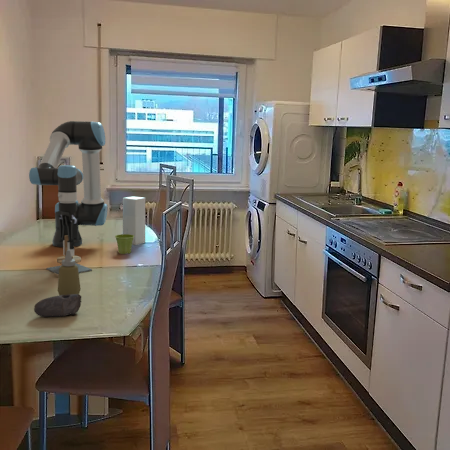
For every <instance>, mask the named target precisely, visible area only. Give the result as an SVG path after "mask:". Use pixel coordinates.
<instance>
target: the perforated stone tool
mask: <svg viewBox="0 0 450 450" xmlns="http://www.w3.org/2000/svg"><path fill="white" fill-rule="evenodd" d="M81 305H82V295H80V293H79V294H68V295H54V296H50V297H46V298H43V299H41V300H39V301H37V302H36V303H35V305H34V307H33V311H34V313H35V314H36V315H37V316H39V317H44V318H47V317H49V318H50V317H53V318H58V317H59V318H60V317H61V318H62V317H66V316H69V315H71V316H73V315H76V314H77V313H78V311H79V310H80V308H81Z"/></svg>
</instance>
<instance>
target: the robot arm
mask: <svg viewBox="0 0 450 450" xmlns="http://www.w3.org/2000/svg"><path fill="white" fill-rule="evenodd" d="M71 145H74V146H78V150H79V151H80V152H81V160H82V161H81V162H82V164H81V165H82V170H81V169H79V168H77V166H75V165H72V164H70V165H69V164H68V165H67V164H64V165H59V164H60V162H61V160H62V157H63V155H64V152H65V151H66V149H67V148H68V147H69V146H71ZM104 146H106V133H105V129H104V126H103V124H102V123H101V122H99V121H98V122H97V121H79V120H78V121H74V120H70V121H69V120H68V121H67V122H63V123H61V124H60V125H58V126H56V128H55V129H54V130H52V131H51V133H50V135H49V143H48V146H47V147H46V149H45V152H44V154H43V156H42V159H41V160H40V163H39V164H38V166H37V167H31V168H30V169H29V173H28V178H29V179H28V180H29V182H30V183H31V184H32V185H37V186H38V185H39V186H57V187H58V191H57V192H58V193H57V197H58V202H57V203H56V204H55V206H54V218H55V219H54V220H55V222H54V225H55V231H54V235H53V238H52V246H53V247H57V248H58V247H59V248H63V249H62V250H63V251H62V252H63V254H62V255H63V256H65V235H68V240H69V241H67V243H68V250H70V253H71V257H72V256H75V247H78V246H82V245H83V238H82V236H81V233H80V230H79V226H91V227H92V226H95V227H97V226H98V227H100V226H101V227H102V226H103V225H105V223H106V220H107V216H108V207H109V206H108V204H107V203H105V199H103V198H102V190H101V166H100V165H101V163H100V159H101V158H100V152H101V151H102V150H103V147H104ZM81 183H83V184H82V185H83V198H82V199H81V201H80V202H79V200H78V196H77V195H78V193H77V192H78V191H77V186H79V185H80V184H81Z"/></svg>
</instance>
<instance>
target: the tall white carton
mask: <svg viewBox="0 0 450 450" xmlns="http://www.w3.org/2000/svg"><path fill="white" fill-rule="evenodd" d="M122 234H130V235H134V237H133V241H132V246H138V245H142V244H145V243H146V197H141V196H134V195H133V196H127V197H123V198H122Z"/></svg>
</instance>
